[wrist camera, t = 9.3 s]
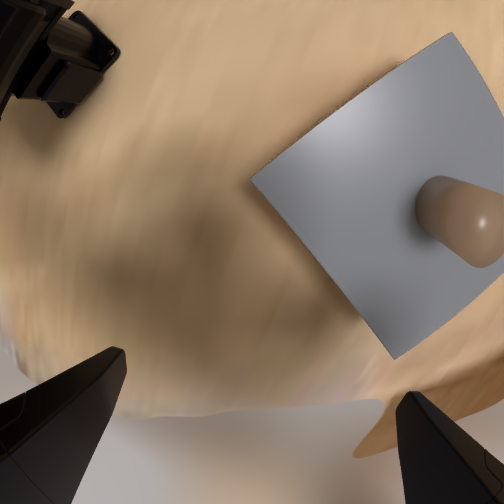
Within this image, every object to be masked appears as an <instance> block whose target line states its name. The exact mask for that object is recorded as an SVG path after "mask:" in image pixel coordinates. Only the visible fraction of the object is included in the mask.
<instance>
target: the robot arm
mask: <svg viewBox="0 0 504 504" xmlns="http://www.w3.org/2000/svg"><path fill="white" fill-rule="evenodd" d="M74 3H75V2H74V1H72V0H0V121H1V115H2V113H3V111H4V109H5V107H6V105H7V103H8V101H9V99H10V97H11V96H16V98H17V99H37V100H41V101H46V102H47V103H48V105H49V106H50V107H51V109H52V110H53V111H54V113H55V114H56V115H57V117H58V118H66V117H67V116H68V115H69V114H70V113H71V111H72V110H73V109H74V107H75V106H76V105H77V103H80V101H81V100H82V99H83V98H84V96H85V95H86V94H87V93H88V92H89V90H90V89H91V88H92V87H93V86H94V84H95V83H96V82H97V81H98V80H99V79H100V77H101V75H102V73H103V72H104V71H105V70H106V69H107V68H108V67H109V66H110V65H111V64H112V63H113V61H114V60H115V59H116V58H117V57H118V56H119V54H120V49H119V48H118V47H117V46H116V45H115V44H114V43H113V42H112V41H111V40H110V39H109V38H108V37H107V36H106V35H105V34H104V33H103V32H102V31H101V30H100V29H99V28H98V27H97V26H96V25H95V24H94V23H93V22H92V21H91V20H90V19H89V18H88V17H87V16H86V15H85V14H84V13H83V12H81V11H75V12H74V13H73V14H72V15H71V16H70V17H69V18H68V19H67V18H64V17H62V15H63V14H64V13H65V12H66V10H67V9H68V10H69V9H70V8H71V6H72V5H73V4H74ZM77 16H78V17H77ZM76 17H77V18H76ZM113 50H114V53H113V55H110V54H111V52H112V51H113ZM63 109H64V113H63V114H62V111H63ZM126 373H127V365H126V356H125V351H124V350H123V349H120V348H117V347H114V346H112V347H109V348H107V349H105V350H104V351H102V352H100V353H98V354H96V355H94V356H92V357H90V358H89V359H87V360H85V361H83V362H81V363H79V364H77V365H75V366H74V367H72V368H70V369H68V370H66V371H64V372H62V373H60V374H58V375H57V376H55V377H53V378H51V379H49V380H47V381H45V382H43V383H41V384H39V385H37V386H36V387H34V388H32V389H30V390H28V391H26V393H25V392H24V393H22V394H20V395H18V396H16V397H14V398H12V399H10V400H8V401H6V402H4V403H1V404H0V504H71V503H72V500H73V498H74V496H75V493H76V491H77V489H78V487H79V484H80V482H81V480H82V477H83V475H84V473H85V471H86V469H87V467H88V464H89V462H90V460H91V458H92V455H93V454H94V451H95V449H96V447H97V445H98V443H99V441H100V439H101V437H102V434H103V432H104V430H105V428H106V426H107V424H108V422H109V420H110V418H111V416H112V413H113V411H114V408H115V405H116V402H117V399H118V396H119V393H120V391H121V388H122V385H123V382H124V379H125V377H126ZM395 415H396V427H397V441H398V453H399V459H400V466H401V472H402V479H403V486H404V494H405V502H406V504H504V464H502V463H501V462H500V461H499V460H497V459H496V458H495V457H494V456H493V455H491V454H490V453H489V452H488V451H487V450H486V449H484V448H483V447H482V446H481V445H480V444H479V443H478V442H477V441H475V440H474V439H473V438H472V437H471V436H470V435H468V434H467V433H466V432H465V431H464V430H463V429H462V428H460V427H459V426H458V425H457V424H456V423H455V422H454V421H452V420H451V419H450V418H449V417H448V416H447V415H446V414H444V413H443V412H442V411H441V410H440V409H439V408H438V407H436V406H435V405H434V404H433V403H432V402H431V401H429V400H428V399H427V398H426V397H425V396H424V395H423V394H421V393H420V392H418V391H409V392H407V393H406V394H405V396H404V397H403V399H402V400H401V402H400V403H399V405H398V406H397V408H396V413H395Z"/></svg>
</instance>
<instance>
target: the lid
mask: <svg viewBox="0 0 504 504" xmlns="http://www.w3.org/2000/svg"><path fill="white" fill-rule="evenodd" d="M250 180H251V182H252V183H253V184H254V185H255V186H256V187H257V188H258V190H259V191H260V192H261V193H262V194H263V195H264V197H265V198H266V199H267V200H268V201H269V202H270V204H271V205H272V206H273V207H274V208H275V210H276V211H277V212H278V213H279V214H280V215H281V217H282V218H283V219H284V220H285V221H286V223H287V224H288V225H289V226H290V227H291V229H292V230H293V231H294V232H295V233H296V235H297V236H298V237H299V238H300V239H301V241H302V242H303V243H304V244H305V246H306V247H307V248H308V249H309V250H310V252H311V253H312V254H313V255H314V257H315V258H316V259H317V260H318V262H319V263H320V264H321V265H322V267H323V268H324V269H325V270H326V272H327V273H328V274H329V275H330V277H331V278H332V279H333V280H334V282H335V283H336V284H337V285H338V287H339V288H340V289H341V291H342V292H343V293H344V294H345V296H346V297H347V298H348V299H349V301H350V302H351V303H352V305H353V306H354V307H355V309H356V310H357V311H358V312H359V314H360V315H361V316H362V318H363V319H364V320H365V322H366V323H367V324H368V326H369V327H370V328H371V330H372V331H373V332H374V334H375V335H376V336H377V338H378V339H379V340H380V342H381V343H382V344H383V346H384V347H385V348H386V350H387V351H388V352H389V354H390V355H391V356H392V358H393V359H394V360H395V359H397V358H398V357H400V356H401V355H403V354H404V353H406V352H407V351H409V350H410V349H411V348H413V347H414V346H416V345H417V344H418V343H420V342H421V341H423V340H424V339H425V338H427V337H428V336H429V335H431V334H432V333H433V332H435V331H436V330H437V329H439V328H440V327H441V326H443V325H444V324H445V323H446V322H448V321H449V320H450V319H451V318H453V317H454V316H455V315H456V314H458V313H459V312H460V311H461V310H462V309H464V308H465V307H466V306H467V305H468V304H470V303H471V302H472V301H473V300H474V299H475V298H476V297H478V296H479V295H480V294H481V293H482V292H483V291H484V290H485V289H487V288H488V287H489V286H490V285H491V284H492V283H493V282H494V281H495V280H496V279H497V278H498V277H499V276H500V275H501V274H502V273H503V272H504V117H503V115H502V113H501V111H500V109H499V107H498V105H497V103H496V101H495V100H494V98H493V96H492V94H491V92H490V90H489V88H488V87H487V85H486V83H485V81H484V80H483V78H482V76H481V75H480V73H479V71H478V70H477V68H476V66H475V65H474V63H473V62H472V60H471V59H470V57H469V55H468V54H467V52H466V51H465V50H464V48H463V47H462V45H461V44H460V42H459V41H458V39H457V38H456V37H455V35H454V34H453V33H452V32H450V33H448V34H446V35H444V36H443V37H441V38H440V39H438V40H436V41H435V42H433V43H432V44H430V45H429V46H427V47H426V48H424V49H422V50H421V51H419V52H418V53H416V54H415V55H413V56H412V57H410V58H409V59H407V60H406V61H404V62H403V63H401V64H400V65H399V66H397V67H396V68H394V69H393V70H391V71H390V72H388V73H387V74H385V75H384V76H383V77H381V78H380V79H378V80H377V81H376V82H374V83H373V84H371V85H370V86H368V87H367V88H366V89H364V90H363V91H362V92H360V93H359V94H357V95H356V96H355V97H353V98H352V99H351V100H349V101H348V102H347V103H345V104H344V105H342V106H341V107H340V108H338V109H337V110H336V111H334V112H333V113H332V114H330V115H329V116H328V117H326V118H325V119H324V120H323V121H321V122H320V123H319V124H317V125H316V126H315V127H313V128H312V129H311V130H310V131H308V132H307V133H306V134H304V135H303V136H302V137H301V138H299V139H298V140H297V141H296V142H294V143H293V144H292V145H290V146H289V147H288V148H287V149H285V150H284V151H283V152H282V153H280V154H279V155H278V156H277V157H276V158H274V159H273V160H272V161H271V162H269V163H268V164H267V165H266V166H265V167H263V168H262V169H261V170H260V171H258V172H257V173H256V174H255V175H254V176H252V177H251V179H250Z"/></svg>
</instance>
